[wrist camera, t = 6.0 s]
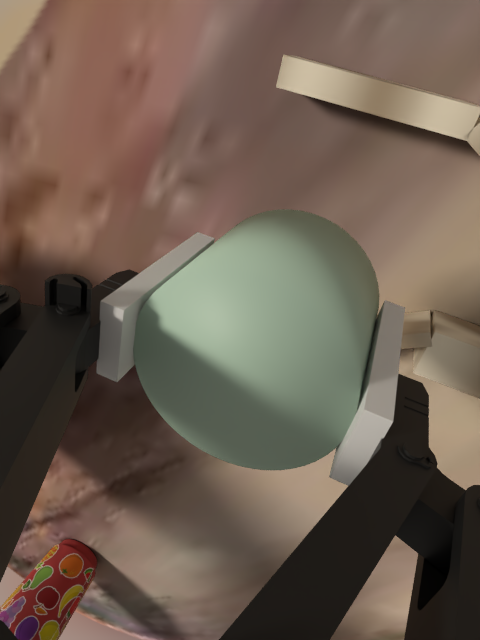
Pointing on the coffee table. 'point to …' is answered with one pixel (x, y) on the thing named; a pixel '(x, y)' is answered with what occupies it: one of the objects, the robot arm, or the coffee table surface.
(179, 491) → the coffee table surface
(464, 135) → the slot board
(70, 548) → the smoothie
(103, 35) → the coffee table surface
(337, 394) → the pale green rounded lump
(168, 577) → the coffee table surface
